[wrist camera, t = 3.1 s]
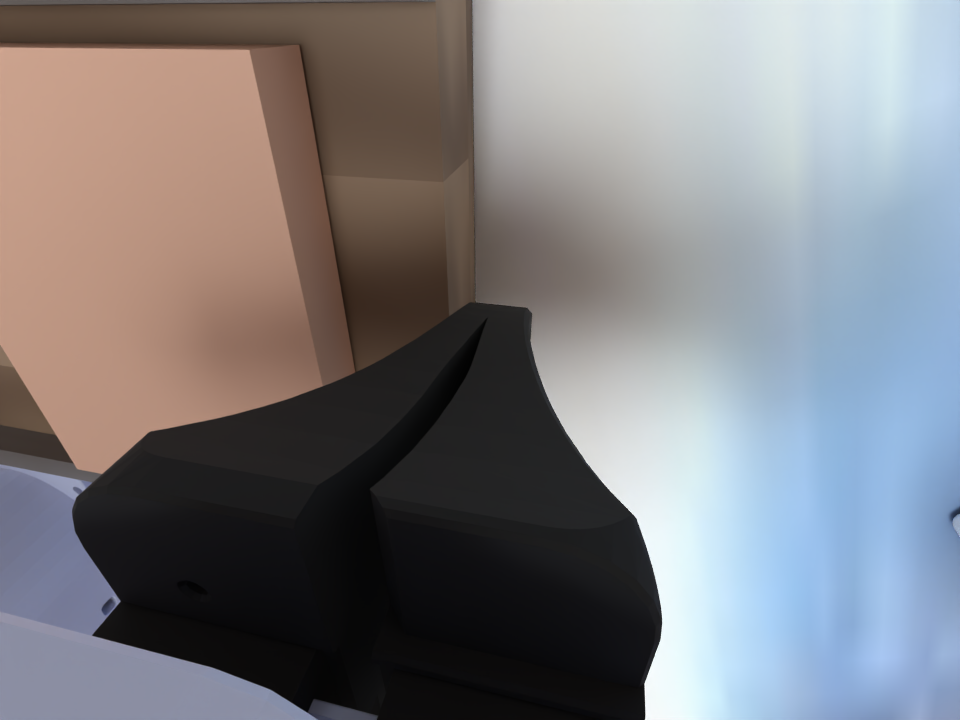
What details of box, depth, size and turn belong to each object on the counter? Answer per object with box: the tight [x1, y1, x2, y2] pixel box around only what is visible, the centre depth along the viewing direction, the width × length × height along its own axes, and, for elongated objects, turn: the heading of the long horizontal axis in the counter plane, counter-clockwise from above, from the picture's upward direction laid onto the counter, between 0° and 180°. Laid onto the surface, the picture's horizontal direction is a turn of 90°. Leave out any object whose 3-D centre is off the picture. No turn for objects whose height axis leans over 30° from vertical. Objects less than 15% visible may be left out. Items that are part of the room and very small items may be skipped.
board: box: [0, 0, 475, 483], centre depth 14 cm, size 14×20×4 cm
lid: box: [0, 42, 355, 474], centre depth 12 cm, size 11×9×2 cm
